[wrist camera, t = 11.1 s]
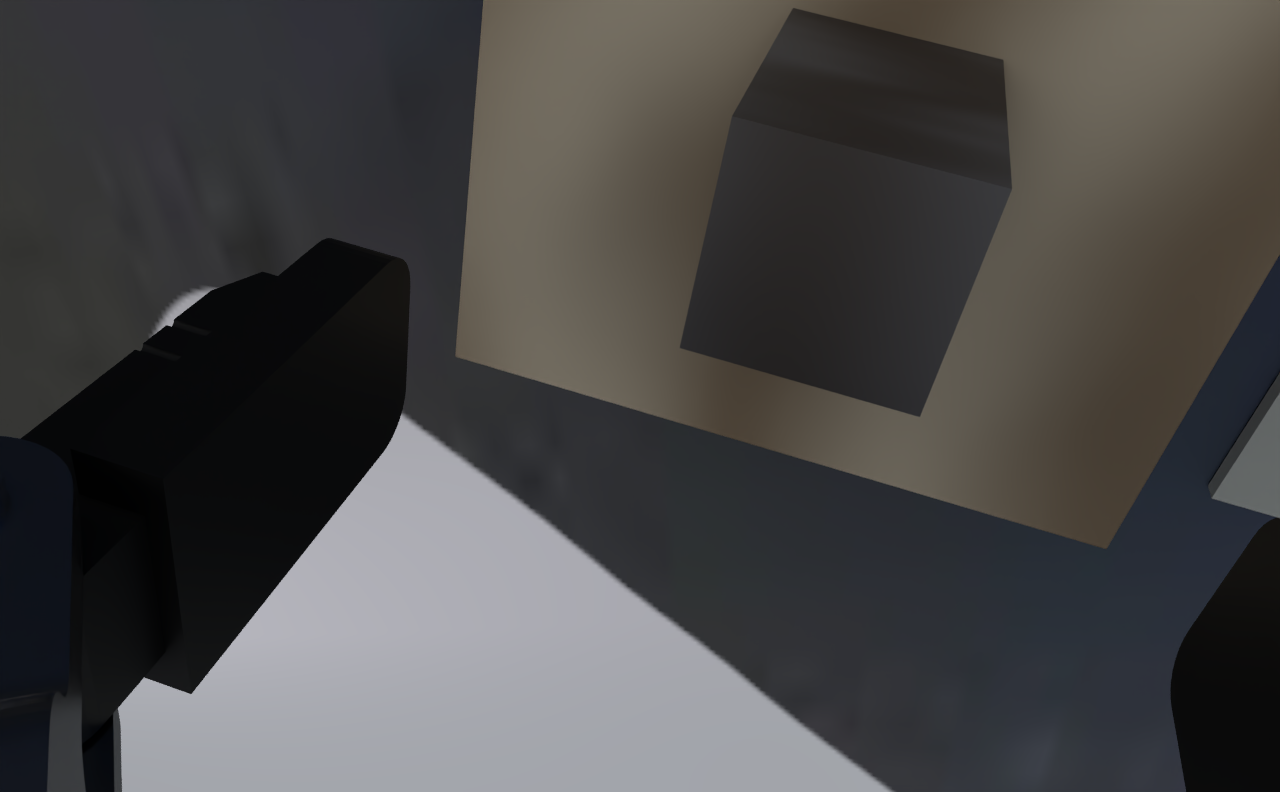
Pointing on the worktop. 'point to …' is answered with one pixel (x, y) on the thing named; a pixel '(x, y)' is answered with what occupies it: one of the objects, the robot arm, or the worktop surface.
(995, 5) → the lid
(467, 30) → the worktop surface
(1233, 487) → the mat
